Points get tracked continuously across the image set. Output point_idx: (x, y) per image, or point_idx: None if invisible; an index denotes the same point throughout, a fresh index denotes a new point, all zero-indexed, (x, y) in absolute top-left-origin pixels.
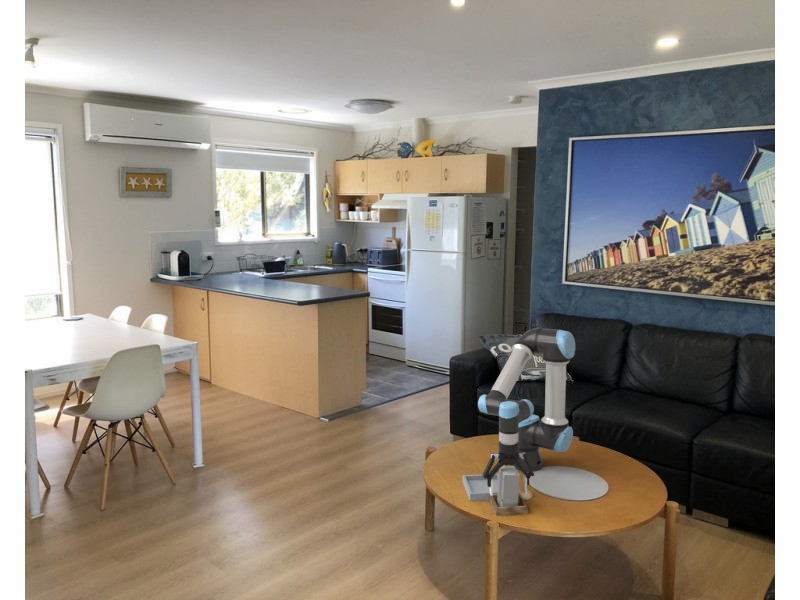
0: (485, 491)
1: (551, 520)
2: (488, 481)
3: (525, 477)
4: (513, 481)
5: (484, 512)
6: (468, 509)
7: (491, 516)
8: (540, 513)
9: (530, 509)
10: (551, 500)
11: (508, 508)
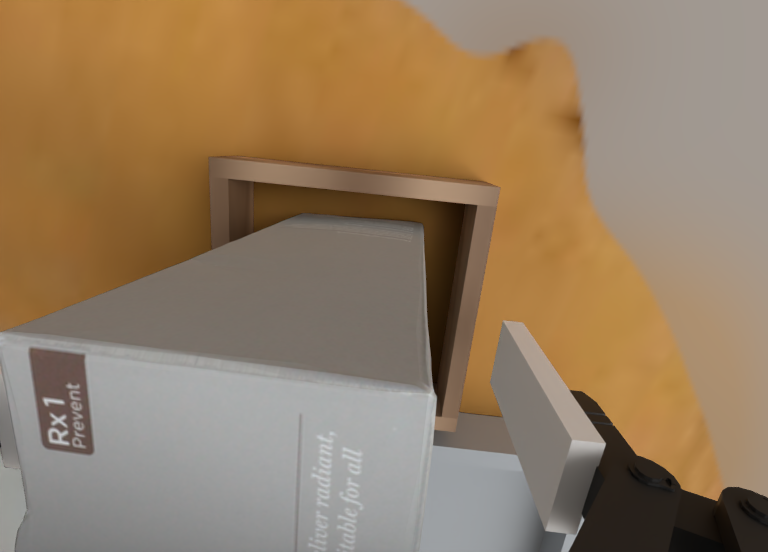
0: (440, 502)
1: (65, 4)
2: (622, 445)
3: (4, 410)
4: (239, 292)
5: (555, 250)
6: (651, 317)
7: (529, 176)
8: (132, 145)
9: (195, 223)
10: (18, 319)
11: (386, 175)
